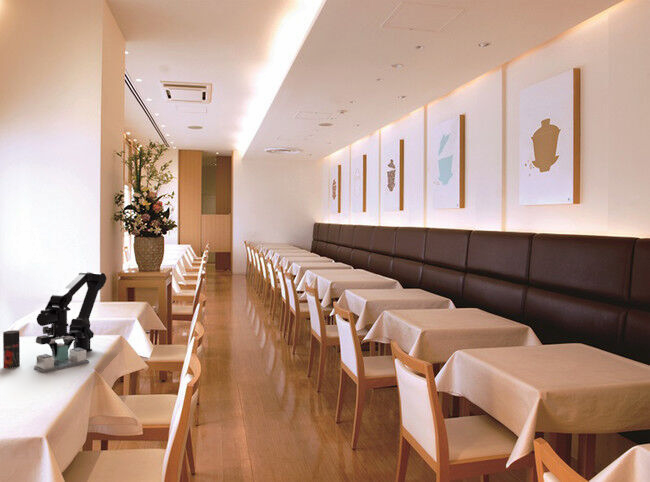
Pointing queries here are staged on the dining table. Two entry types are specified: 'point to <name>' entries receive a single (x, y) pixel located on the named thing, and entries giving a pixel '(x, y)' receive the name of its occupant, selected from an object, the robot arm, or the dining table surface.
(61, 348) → the block
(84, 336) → the robot arm
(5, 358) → the deodorant
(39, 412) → the dining table surface
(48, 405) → the dining table surface
